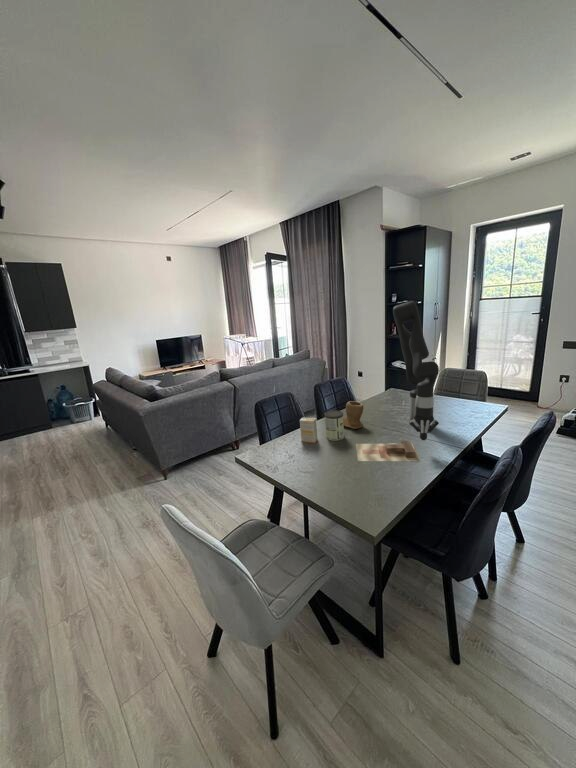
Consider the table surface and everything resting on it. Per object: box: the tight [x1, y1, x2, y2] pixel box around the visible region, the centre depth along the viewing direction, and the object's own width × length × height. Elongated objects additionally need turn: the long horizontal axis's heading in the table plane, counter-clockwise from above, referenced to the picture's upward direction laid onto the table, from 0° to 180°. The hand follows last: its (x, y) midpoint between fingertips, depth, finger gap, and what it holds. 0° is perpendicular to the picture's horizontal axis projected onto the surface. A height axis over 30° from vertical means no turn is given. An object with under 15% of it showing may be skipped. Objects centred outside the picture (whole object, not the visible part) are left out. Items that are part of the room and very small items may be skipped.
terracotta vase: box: [343, 400, 364, 430], centre depth 185 cm, size 15×12×15 cm
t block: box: [385, 440, 415, 458], centre depth 148 cm, size 12×12×3 cm
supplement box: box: [299, 417, 319, 444], centre depth 169 cm, size 8×5×13 cm, turn 65°
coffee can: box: [324, 410, 345, 442], centre depth 171 cm, size 10×10×14 cm
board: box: [355, 442, 422, 462], centre depth 150 cm, size 28×18×1 cm, turn 81°
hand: (423, 439), depth 145 cm, fingers closed
